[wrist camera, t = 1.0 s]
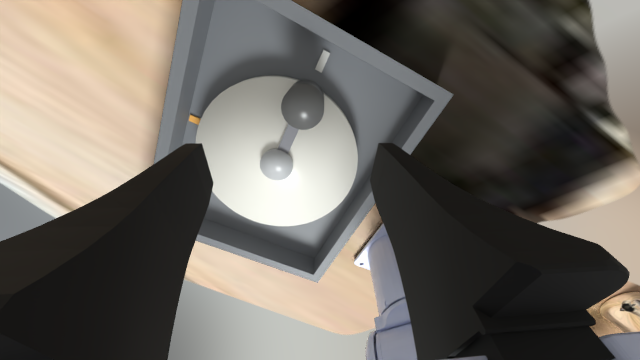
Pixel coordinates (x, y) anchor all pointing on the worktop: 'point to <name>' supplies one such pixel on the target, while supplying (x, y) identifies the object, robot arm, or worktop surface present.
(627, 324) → the beer glass
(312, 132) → the dial
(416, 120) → the bezel plate
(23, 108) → the worktop surface
